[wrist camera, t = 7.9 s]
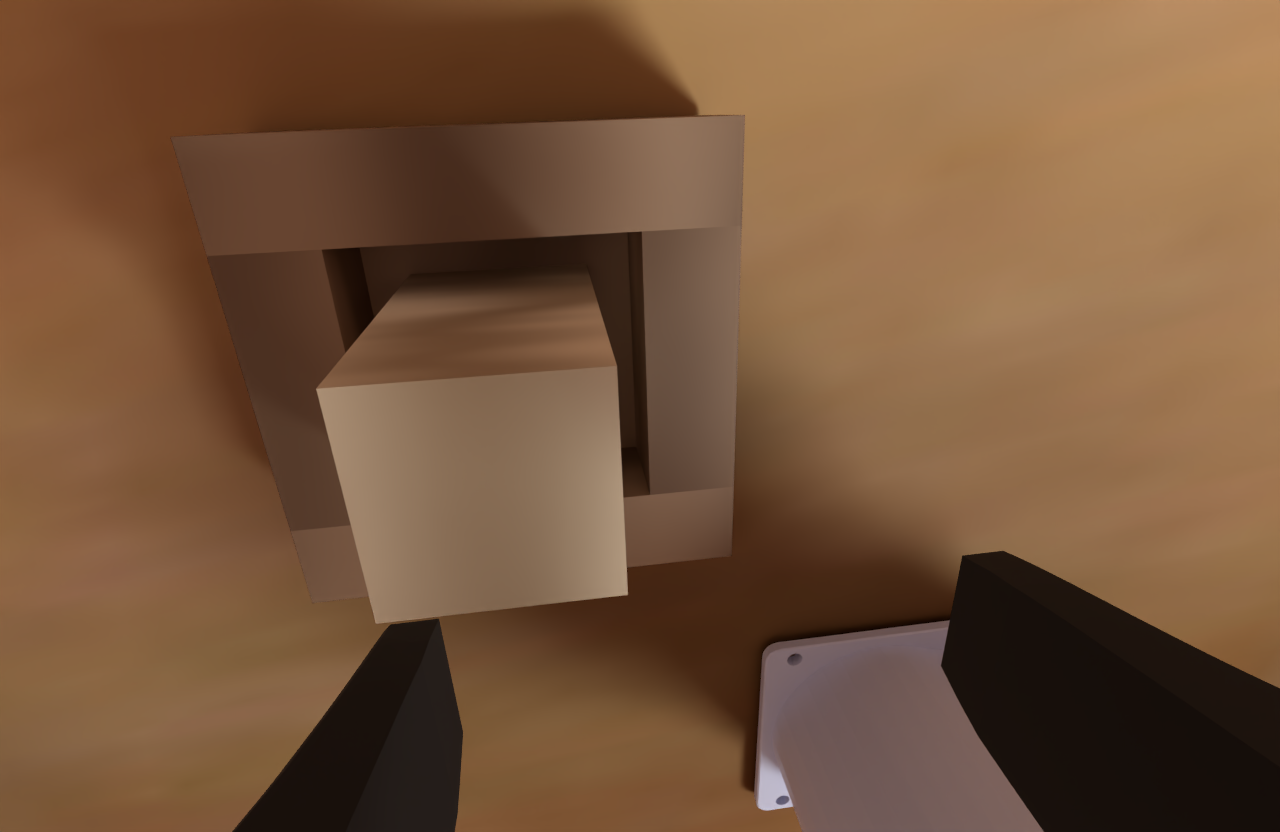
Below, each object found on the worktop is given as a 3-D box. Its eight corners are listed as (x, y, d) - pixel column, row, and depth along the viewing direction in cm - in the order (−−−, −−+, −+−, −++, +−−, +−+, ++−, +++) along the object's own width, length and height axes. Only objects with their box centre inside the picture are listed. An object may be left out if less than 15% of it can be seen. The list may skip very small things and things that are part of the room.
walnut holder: (707, 115, 15) (744, 115, 12) (704, 493, 19) (731, 556, 16) (242, 132, 14) (170, 136, 11) (346, 530, 18) (312, 603, 15)
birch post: (586, 263, 15) (616, 366, 9) (596, 418, 17) (627, 594, 11) (410, 274, 15) (316, 388, 9) (438, 431, 17) (375, 624, 10)
